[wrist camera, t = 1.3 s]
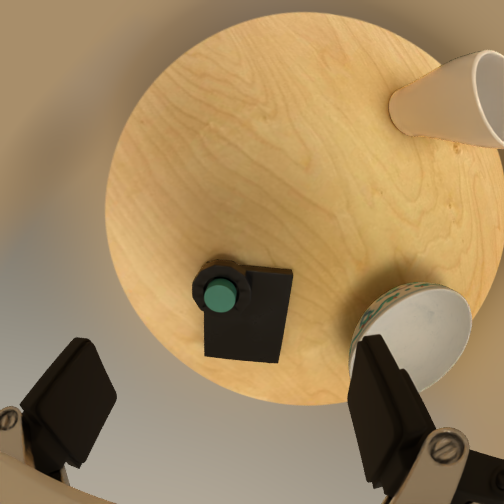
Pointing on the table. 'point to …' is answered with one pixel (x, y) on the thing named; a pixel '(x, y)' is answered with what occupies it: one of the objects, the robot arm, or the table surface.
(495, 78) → the white tall cup
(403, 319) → the chinaware
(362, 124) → the table surface
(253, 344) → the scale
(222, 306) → the tare button
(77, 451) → the robot arm
